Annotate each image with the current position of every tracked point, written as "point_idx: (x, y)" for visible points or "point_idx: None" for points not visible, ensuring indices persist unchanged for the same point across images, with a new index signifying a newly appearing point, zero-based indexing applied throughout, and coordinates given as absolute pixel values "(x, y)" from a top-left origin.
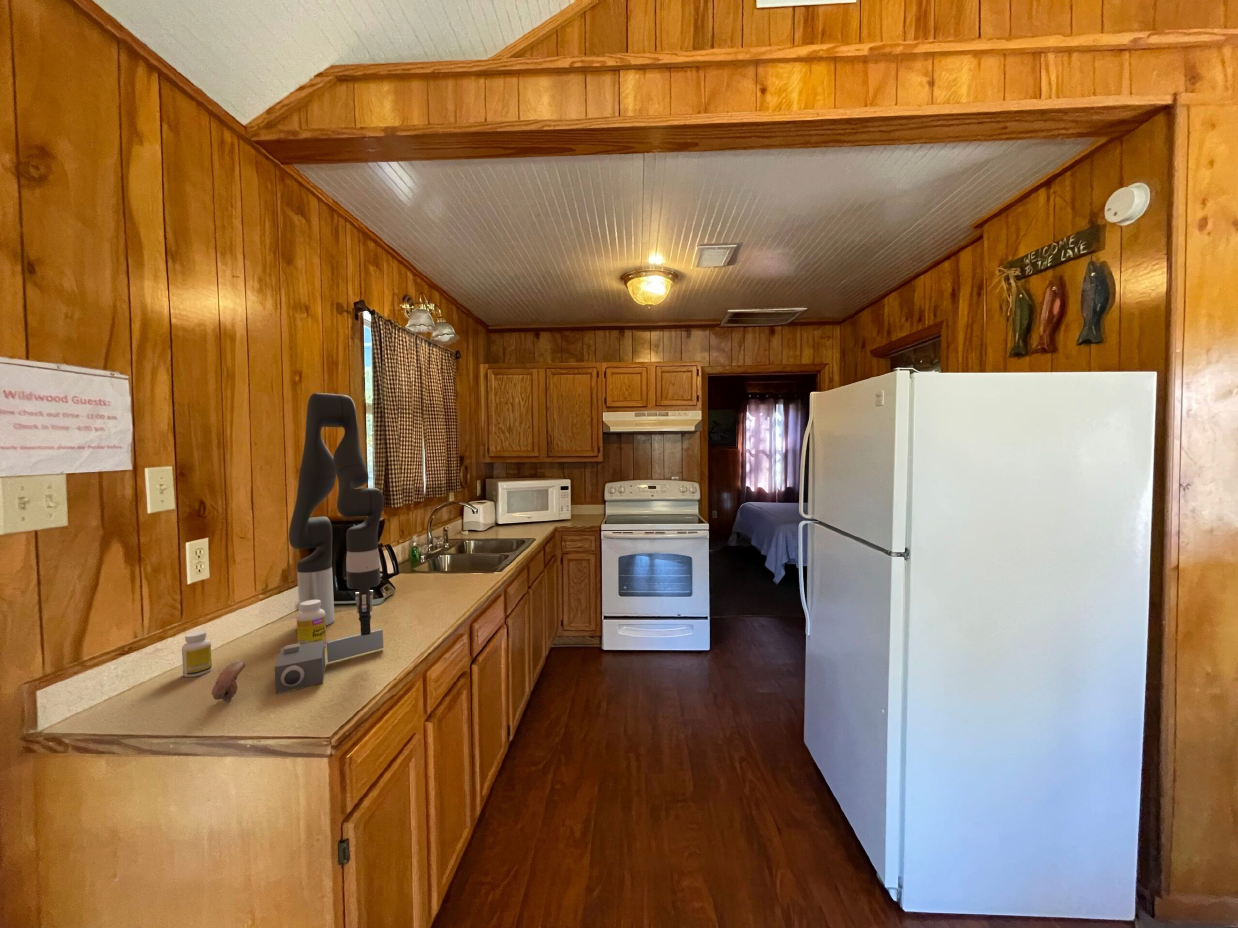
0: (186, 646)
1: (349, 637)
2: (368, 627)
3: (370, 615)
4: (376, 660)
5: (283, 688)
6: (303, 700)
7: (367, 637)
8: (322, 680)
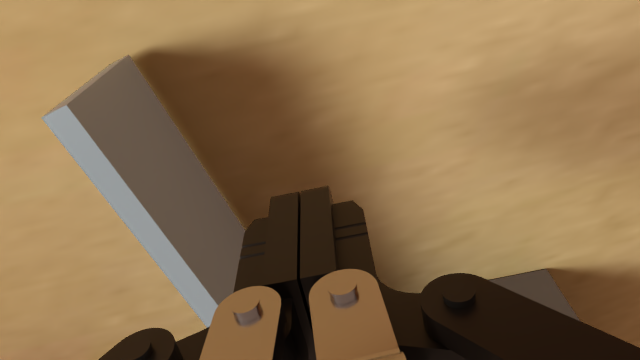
0: None
1: None
2: (357, 234)
3: (262, 308)
4: (326, 59)
5: None
6: None
7: (161, 197)
8: (552, 279)
